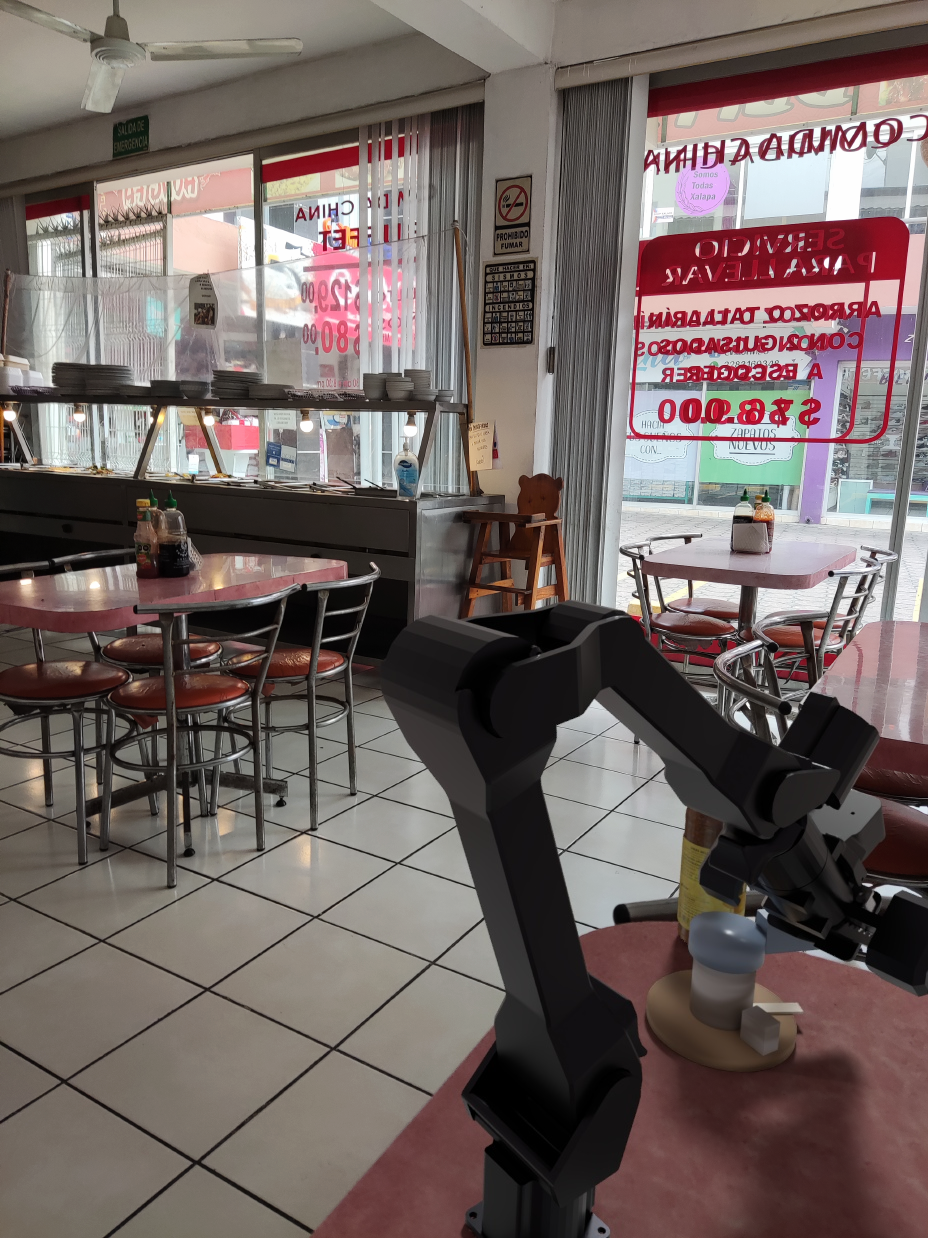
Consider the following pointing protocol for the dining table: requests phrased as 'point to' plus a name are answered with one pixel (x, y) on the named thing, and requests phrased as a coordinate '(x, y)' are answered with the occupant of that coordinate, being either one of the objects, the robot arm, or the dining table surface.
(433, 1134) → the dining table surface
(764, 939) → the orange-banded blue bar
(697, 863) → the sauce bottle
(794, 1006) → the tan disc with post
